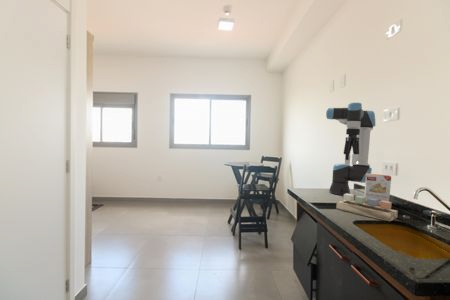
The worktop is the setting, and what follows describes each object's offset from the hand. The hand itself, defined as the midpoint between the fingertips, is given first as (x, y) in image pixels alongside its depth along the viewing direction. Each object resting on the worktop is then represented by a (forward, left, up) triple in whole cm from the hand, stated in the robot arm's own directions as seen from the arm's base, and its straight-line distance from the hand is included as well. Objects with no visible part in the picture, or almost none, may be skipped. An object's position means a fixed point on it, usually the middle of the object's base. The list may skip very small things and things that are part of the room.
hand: (350, 164), depth 171 cm
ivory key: (0, 0, -24) cm, 24 cm away
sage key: (0, +7, -24) cm, 25 cm away
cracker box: (-22, +9, -28) cm, 36 cm away
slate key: (0, +14, -24) cm, 28 cm away
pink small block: (0, +21, -24) cm, 32 cm away
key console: (0, +11, -27) cm, 29 cm away
